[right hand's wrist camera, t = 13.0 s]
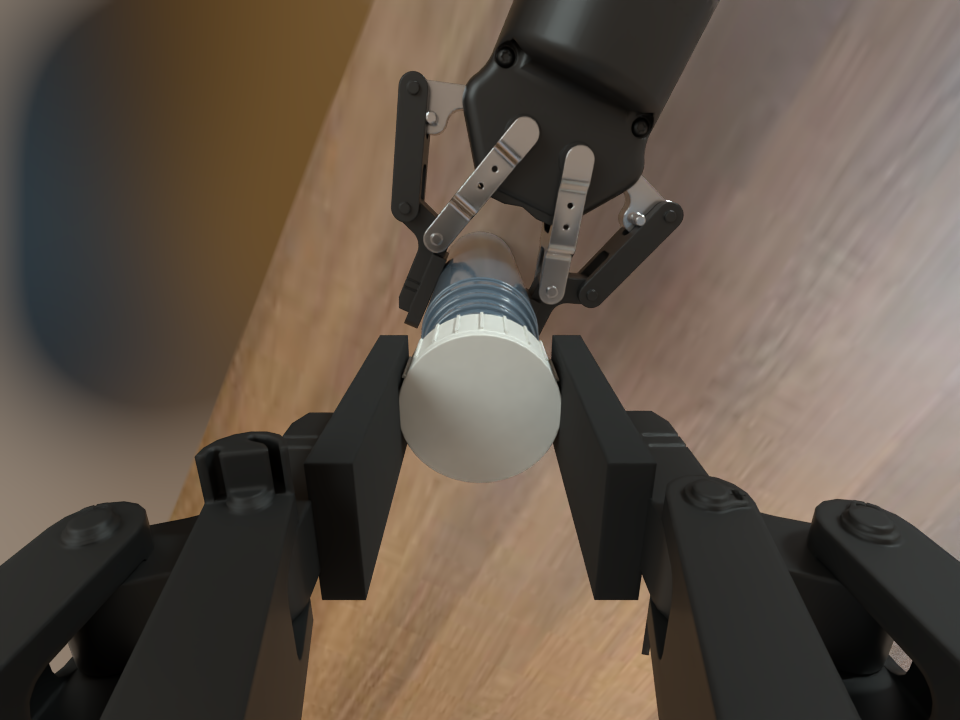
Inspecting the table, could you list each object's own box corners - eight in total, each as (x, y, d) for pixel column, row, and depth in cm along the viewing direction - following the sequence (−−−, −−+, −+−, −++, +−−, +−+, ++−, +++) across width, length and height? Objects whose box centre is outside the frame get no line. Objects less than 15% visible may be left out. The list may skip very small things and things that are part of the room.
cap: (375, 391, 14) (361, 422, 13) (469, 279, 13) (468, 296, 12) (488, 472, 15) (489, 512, 14) (585, 373, 14) (599, 403, 13)
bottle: (432, 255, 31) (363, 381, 13) (491, 217, 30) (508, 292, 12) (469, 312, 32) (455, 502, 14) (527, 277, 32) (592, 428, 13)
